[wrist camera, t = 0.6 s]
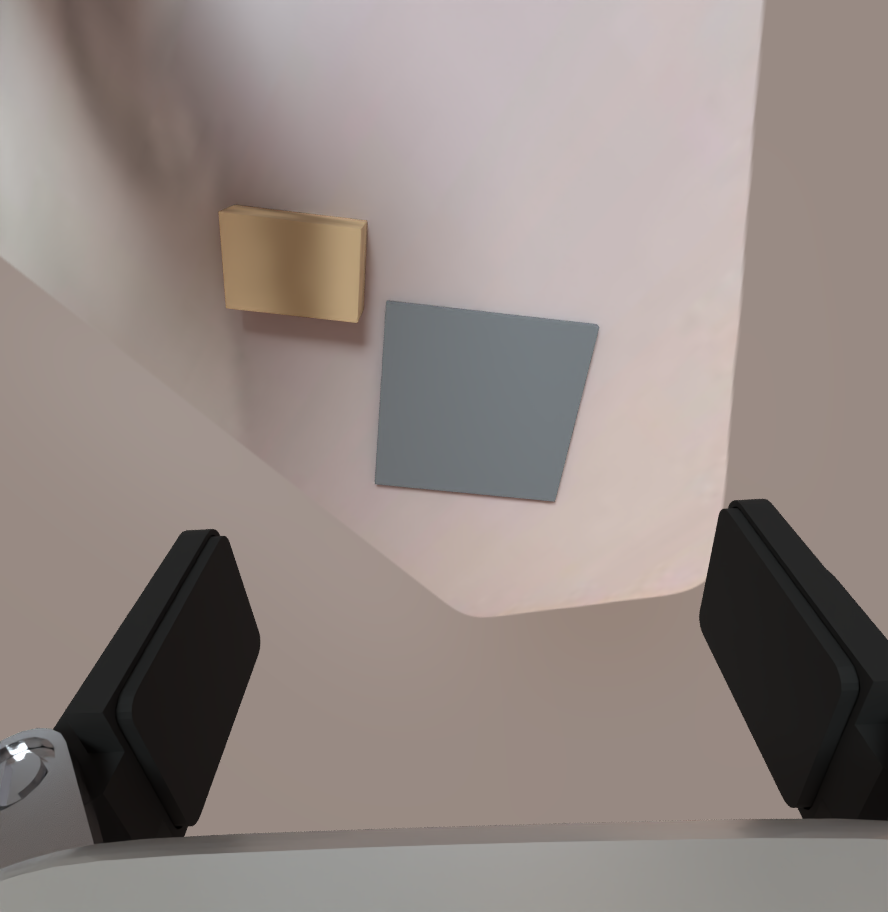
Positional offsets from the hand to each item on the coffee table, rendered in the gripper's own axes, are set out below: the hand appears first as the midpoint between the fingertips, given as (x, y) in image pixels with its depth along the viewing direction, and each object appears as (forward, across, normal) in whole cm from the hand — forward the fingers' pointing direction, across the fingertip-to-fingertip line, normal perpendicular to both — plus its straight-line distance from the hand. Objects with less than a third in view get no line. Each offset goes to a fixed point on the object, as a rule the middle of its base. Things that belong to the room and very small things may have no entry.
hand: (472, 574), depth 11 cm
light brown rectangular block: (+30, +10, -1) cm, 31 cm away
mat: (+29, -1, +10) cm, 31 cm away
